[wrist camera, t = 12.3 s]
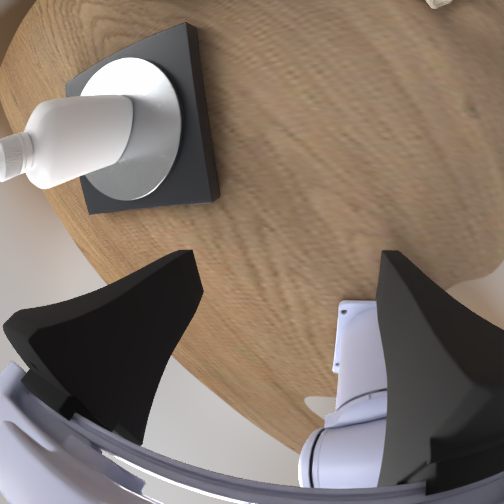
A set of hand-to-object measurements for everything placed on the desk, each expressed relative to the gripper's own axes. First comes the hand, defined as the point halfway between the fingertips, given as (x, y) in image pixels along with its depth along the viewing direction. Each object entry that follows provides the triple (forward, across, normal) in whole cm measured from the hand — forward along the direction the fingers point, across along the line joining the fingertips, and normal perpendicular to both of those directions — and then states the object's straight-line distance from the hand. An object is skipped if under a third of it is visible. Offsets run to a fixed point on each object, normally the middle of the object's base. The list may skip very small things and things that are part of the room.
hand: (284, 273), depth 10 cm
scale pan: (+9, +13, -7) cm, 18 cm away
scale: (+11, +14, -7) cm, 19 cm away
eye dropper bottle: (+9, +14, -7) cm, 18 cm away
